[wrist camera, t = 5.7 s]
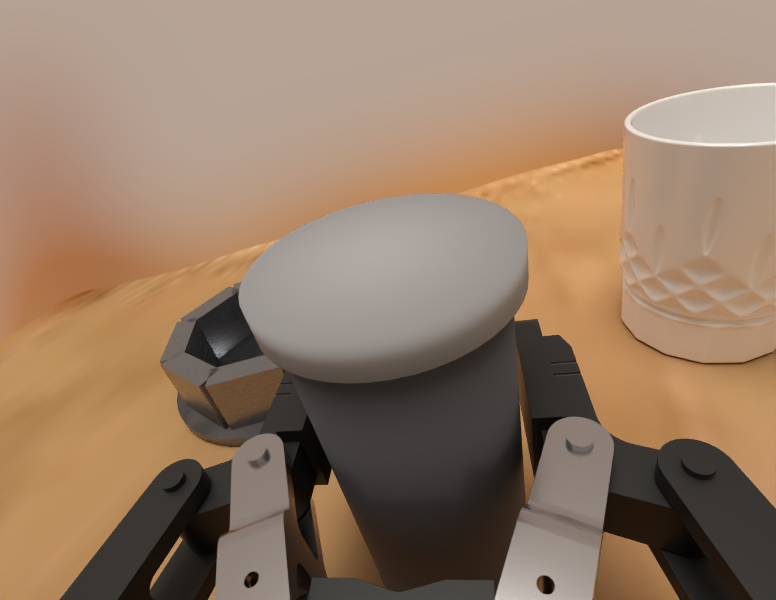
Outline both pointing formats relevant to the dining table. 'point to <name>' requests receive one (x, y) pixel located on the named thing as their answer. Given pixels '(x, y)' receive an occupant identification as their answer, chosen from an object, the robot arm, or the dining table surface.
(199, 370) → the octagonal ring holder
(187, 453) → the dining table surface
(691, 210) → the white cup
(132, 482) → the dining table surface
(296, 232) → the white-topped grey cylinder
